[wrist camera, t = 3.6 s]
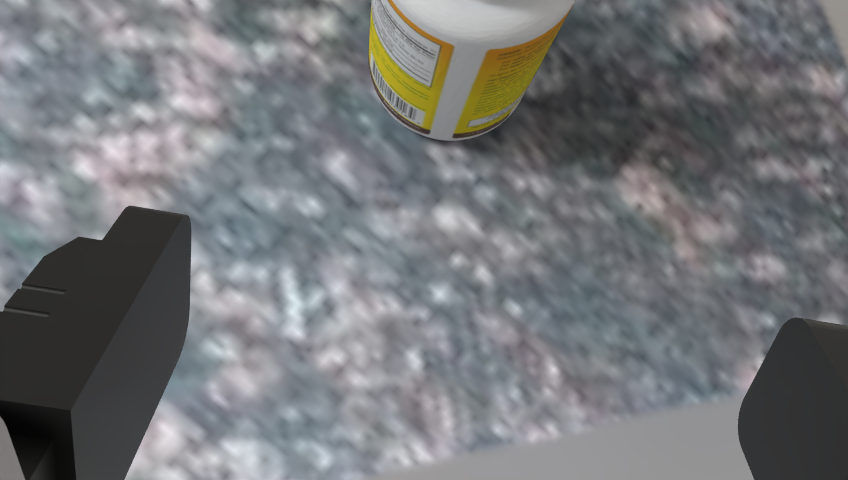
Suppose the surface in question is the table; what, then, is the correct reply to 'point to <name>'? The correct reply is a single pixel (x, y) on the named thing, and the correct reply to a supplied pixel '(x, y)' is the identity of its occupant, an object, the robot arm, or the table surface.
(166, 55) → the table surface
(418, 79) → the supplement bottle
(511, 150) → the table surface
